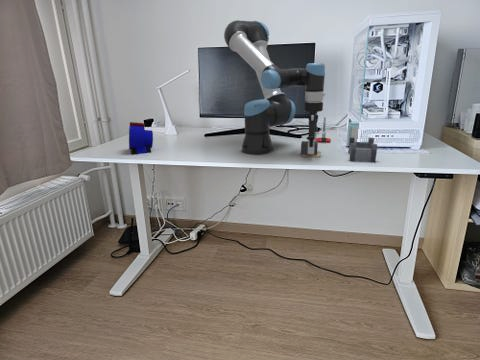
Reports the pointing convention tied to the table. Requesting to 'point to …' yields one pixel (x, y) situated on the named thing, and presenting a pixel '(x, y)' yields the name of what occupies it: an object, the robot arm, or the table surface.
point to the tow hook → (323, 135)
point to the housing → (362, 150)
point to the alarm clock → (140, 138)
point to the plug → (305, 148)
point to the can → (352, 131)
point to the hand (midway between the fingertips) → (311, 150)
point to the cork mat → (313, 155)
